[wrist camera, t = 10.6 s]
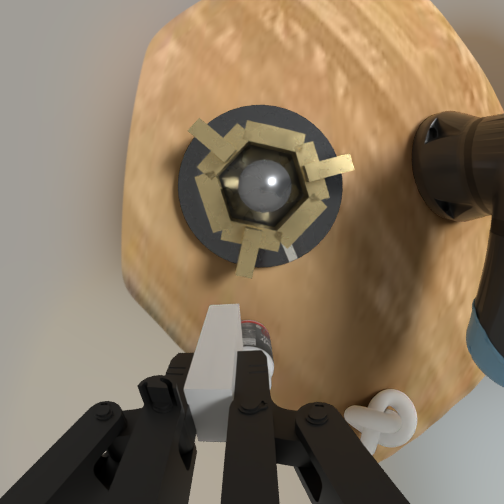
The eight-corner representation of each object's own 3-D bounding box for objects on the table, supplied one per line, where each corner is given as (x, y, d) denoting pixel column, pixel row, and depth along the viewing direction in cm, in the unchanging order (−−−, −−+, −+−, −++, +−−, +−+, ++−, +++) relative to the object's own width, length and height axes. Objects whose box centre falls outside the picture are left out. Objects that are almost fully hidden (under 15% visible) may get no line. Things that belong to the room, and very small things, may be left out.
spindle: (276, 161, 31) (284, 154, 24) (285, 200, 32) (296, 206, 25) (235, 170, 31) (232, 166, 24) (245, 210, 32) (245, 218, 25)
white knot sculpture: (401, 367, 38) (426, 401, 29) (405, 410, 41) (424, 442, 32) (337, 396, 39) (352, 437, 30) (349, 435, 42) (362, 471, 33)
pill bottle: (274, 350, 37) (281, 399, 27) (232, 359, 37) (229, 409, 27) (264, 313, 35) (269, 358, 26) (220, 323, 35) (211, 370, 26)
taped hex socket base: (200, 117, 28) (193, 107, 24) (344, 151, 29) (359, 146, 25) (174, 248, 31) (163, 259, 27) (312, 277, 32) (321, 292, 28)
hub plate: (317, 96, 29) (320, 92, 27) (350, 243, 33) (355, 246, 32) (165, 131, 30) (161, 129, 28) (204, 279, 34) (202, 283, 32)
